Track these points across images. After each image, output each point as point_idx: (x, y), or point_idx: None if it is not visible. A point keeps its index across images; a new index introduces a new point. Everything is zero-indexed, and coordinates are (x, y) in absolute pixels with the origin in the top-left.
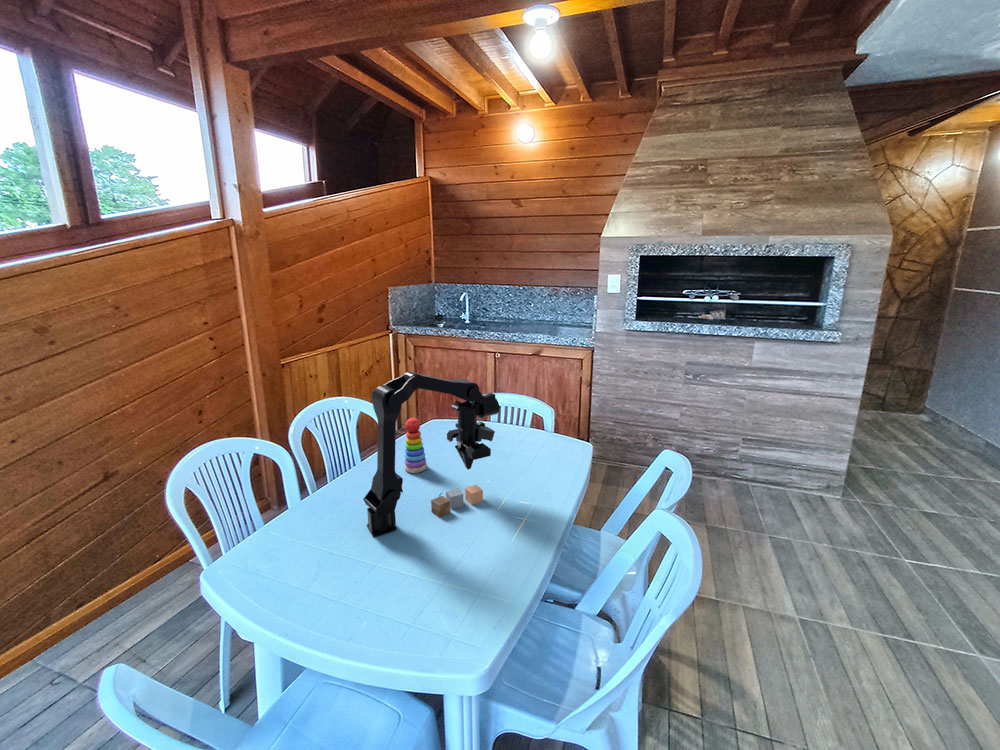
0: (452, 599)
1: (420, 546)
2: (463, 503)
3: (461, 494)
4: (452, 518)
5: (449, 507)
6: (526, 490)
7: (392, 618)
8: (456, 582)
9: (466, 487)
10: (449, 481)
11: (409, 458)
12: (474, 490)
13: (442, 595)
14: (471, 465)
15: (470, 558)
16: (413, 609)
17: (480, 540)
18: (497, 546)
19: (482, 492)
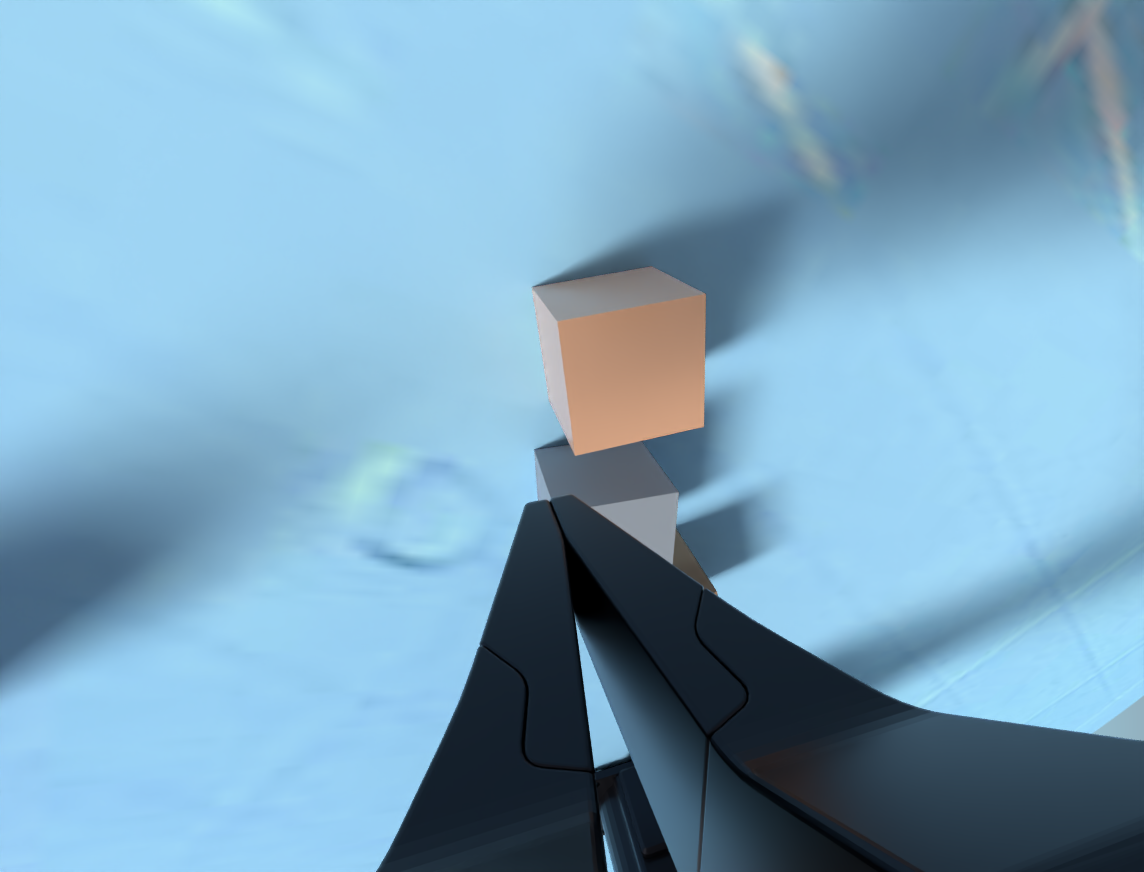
0: (1131, 585)
1: (846, 661)
2: (644, 445)
3: (676, 506)
4: (738, 525)
5: (693, 560)
6: None
7: (1046, 708)
8: (1095, 567)
9: (575, 441)
10: (126, 460)
11: None
12: (671, 381)
13: (1096, 608)
14: (613, 526)
15: (1053, 502)
16: (1066, 671)
17: (1002, 431)
18: (1102, 364)
19: (691, 290)
